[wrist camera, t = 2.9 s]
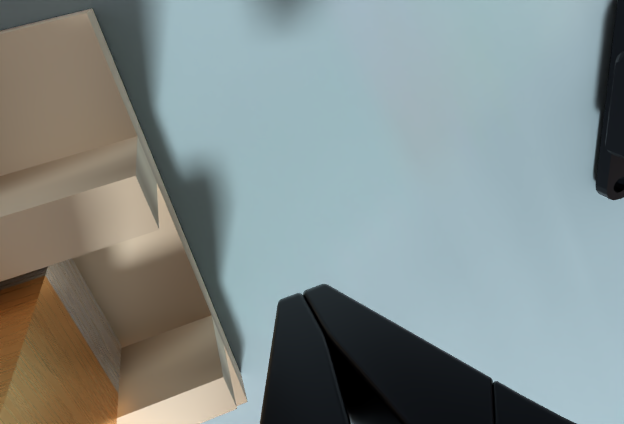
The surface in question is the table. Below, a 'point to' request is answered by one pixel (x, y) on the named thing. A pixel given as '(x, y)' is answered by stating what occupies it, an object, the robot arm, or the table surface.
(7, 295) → the lock bolt
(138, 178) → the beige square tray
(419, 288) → the table surface
